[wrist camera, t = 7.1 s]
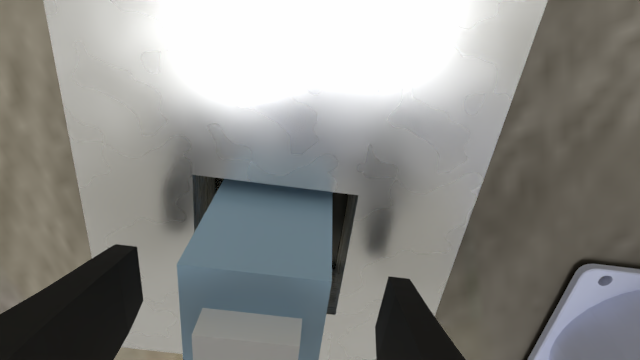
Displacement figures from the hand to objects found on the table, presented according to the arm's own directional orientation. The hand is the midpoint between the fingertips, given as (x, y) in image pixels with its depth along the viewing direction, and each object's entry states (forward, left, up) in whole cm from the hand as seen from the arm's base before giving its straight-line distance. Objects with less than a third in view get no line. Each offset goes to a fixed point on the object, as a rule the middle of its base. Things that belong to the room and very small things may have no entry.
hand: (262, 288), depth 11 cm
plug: (0, 0, -4) cm, 4 cm away
